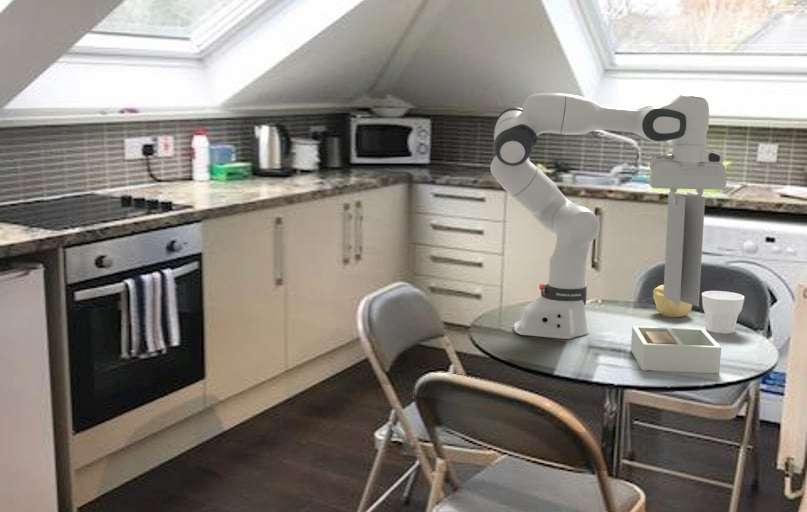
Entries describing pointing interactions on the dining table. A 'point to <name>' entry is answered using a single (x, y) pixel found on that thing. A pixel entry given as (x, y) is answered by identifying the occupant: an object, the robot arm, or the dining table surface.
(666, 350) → the divided tray
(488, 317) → the dining table surface
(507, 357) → the dining table surface
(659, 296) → the yellow rounded lump
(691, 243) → the brochure
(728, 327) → the cup
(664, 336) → the offcut top
